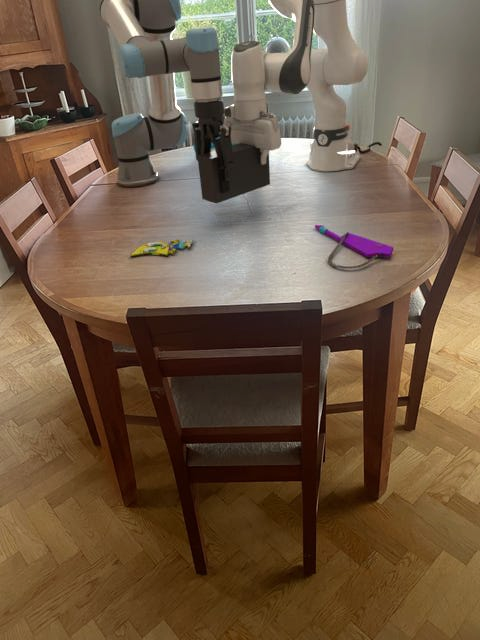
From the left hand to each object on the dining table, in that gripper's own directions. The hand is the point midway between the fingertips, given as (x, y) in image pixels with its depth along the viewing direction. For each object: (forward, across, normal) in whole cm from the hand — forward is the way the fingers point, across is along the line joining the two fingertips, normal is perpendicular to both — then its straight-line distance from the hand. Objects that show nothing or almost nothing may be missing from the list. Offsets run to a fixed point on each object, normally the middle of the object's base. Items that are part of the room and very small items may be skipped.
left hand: (217, 189), depth 134 cm
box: (+3, 0, -7) cm, 7 cm away
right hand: (-4, 0, -14) cm, 15 cm away
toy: (+11, 0, +20) cm, 23 cm away
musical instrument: (+11, -37, -9) cm, 40 cm away
